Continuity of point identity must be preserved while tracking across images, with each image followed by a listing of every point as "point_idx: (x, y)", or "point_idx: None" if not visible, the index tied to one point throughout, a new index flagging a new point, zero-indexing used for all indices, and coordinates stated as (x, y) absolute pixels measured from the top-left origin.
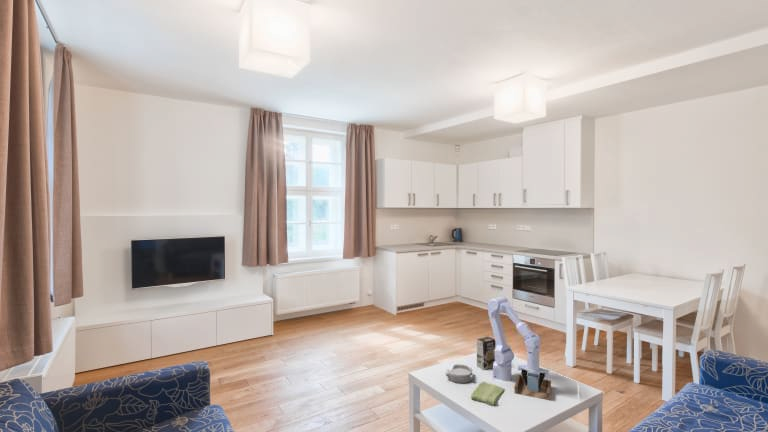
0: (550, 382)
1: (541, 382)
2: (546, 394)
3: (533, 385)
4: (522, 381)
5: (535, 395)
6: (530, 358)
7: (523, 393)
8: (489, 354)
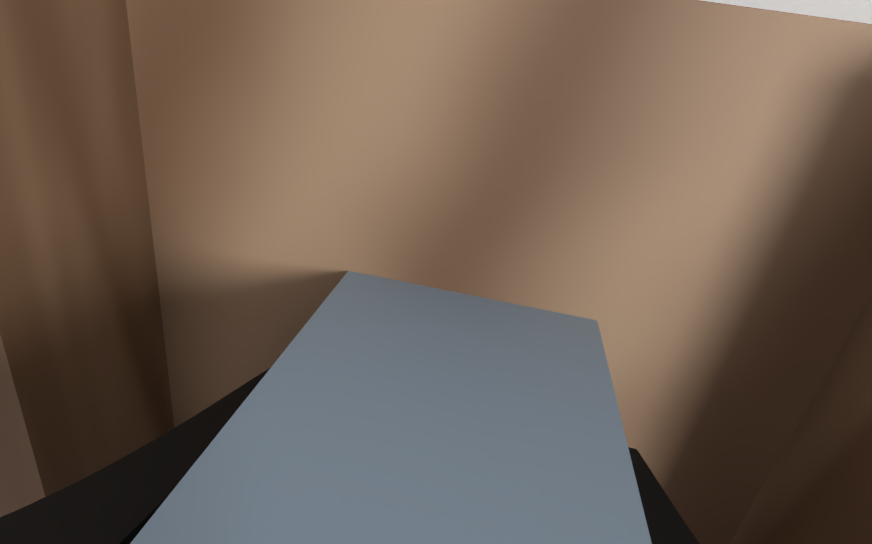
0: None
1: (96, 473)
2: (173, 224)
3: (422, 386)
4: None
5: (415, 97)
6: None
7: (757, 128)
8: None
